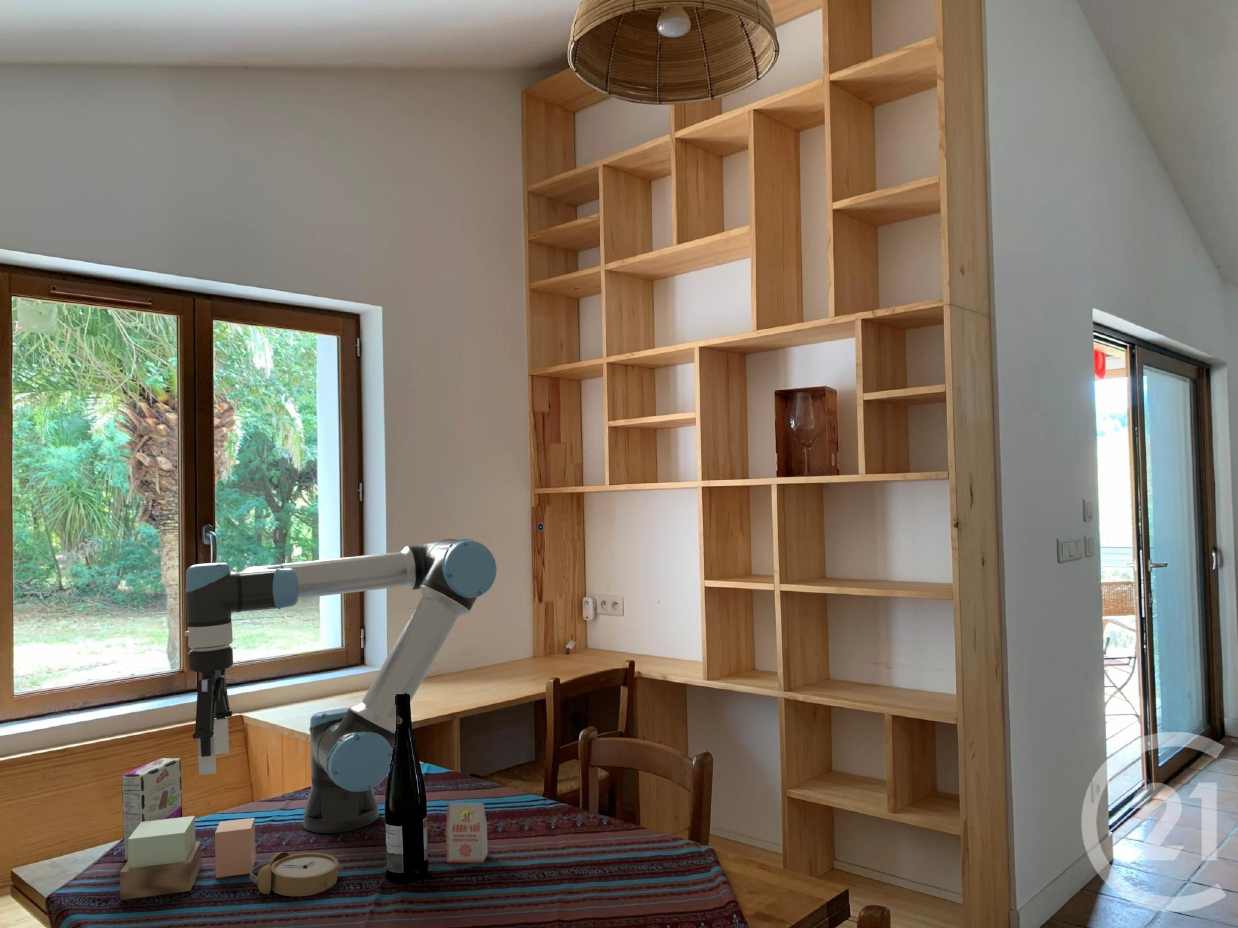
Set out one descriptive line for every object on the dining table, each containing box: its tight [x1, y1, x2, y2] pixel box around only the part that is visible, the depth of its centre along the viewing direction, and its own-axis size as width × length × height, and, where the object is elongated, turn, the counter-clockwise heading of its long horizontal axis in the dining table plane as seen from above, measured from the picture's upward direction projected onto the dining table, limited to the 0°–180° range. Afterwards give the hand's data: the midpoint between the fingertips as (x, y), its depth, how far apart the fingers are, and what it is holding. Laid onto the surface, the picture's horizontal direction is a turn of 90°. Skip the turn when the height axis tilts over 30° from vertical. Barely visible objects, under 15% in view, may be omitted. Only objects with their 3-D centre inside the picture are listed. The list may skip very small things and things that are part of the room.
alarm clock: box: [249, 851, 344, 897], centre depth 161 cm, size 11×5×15 cm
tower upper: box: [127, 815, 196, 869], centre depth 164 cm, size 9×9×5 cm
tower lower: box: [119, 840, 202, 901], centre depth 163 cm, size 11×11×5 cm
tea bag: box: [445, 802, 489, 863], centre depth 170 cm, size 4×7×10 cm, turn 85°
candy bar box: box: [121, 757, 183, 861], centre depth 179 cm, size 11×5×16 cm, turn 168°
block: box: [214, 817, 256, 879], centre depth 168 cm, size 6×6×8 cm
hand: (214, 763), depth 169 cm, fingers open, 13 cm apart
